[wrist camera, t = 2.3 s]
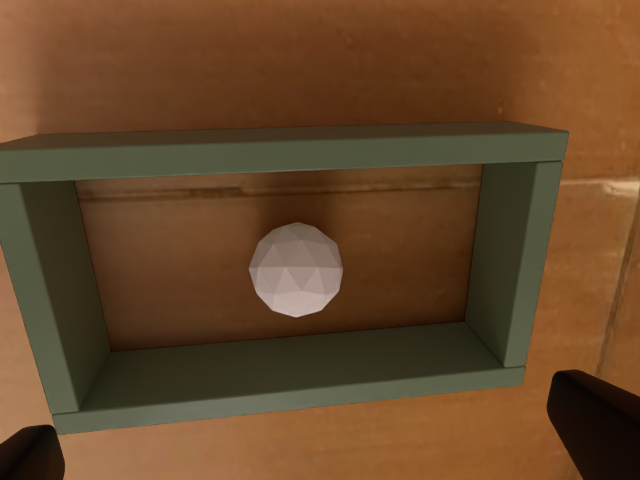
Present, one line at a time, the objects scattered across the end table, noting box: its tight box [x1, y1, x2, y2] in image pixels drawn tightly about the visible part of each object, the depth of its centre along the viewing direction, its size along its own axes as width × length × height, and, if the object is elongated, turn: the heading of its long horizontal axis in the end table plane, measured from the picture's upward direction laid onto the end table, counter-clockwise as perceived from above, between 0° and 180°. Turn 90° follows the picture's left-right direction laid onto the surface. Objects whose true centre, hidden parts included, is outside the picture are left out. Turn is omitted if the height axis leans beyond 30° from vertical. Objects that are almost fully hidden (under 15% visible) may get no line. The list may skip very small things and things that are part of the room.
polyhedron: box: [248, 222, 343, 317], centre depth 14 cm, size 3×3×3 cm
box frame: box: [0, 121, 569, 435], centre depth 14 cm, size 15×8×3 cm, turn 91°
